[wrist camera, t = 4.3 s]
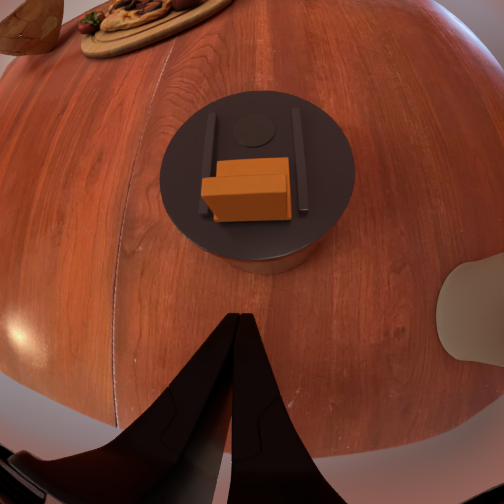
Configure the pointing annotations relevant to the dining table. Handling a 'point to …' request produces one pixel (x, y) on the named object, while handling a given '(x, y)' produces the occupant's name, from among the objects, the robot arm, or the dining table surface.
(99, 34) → the wooden plate
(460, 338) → the can
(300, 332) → the dining table surface
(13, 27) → the bowl
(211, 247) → the round container with rails
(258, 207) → the slider
